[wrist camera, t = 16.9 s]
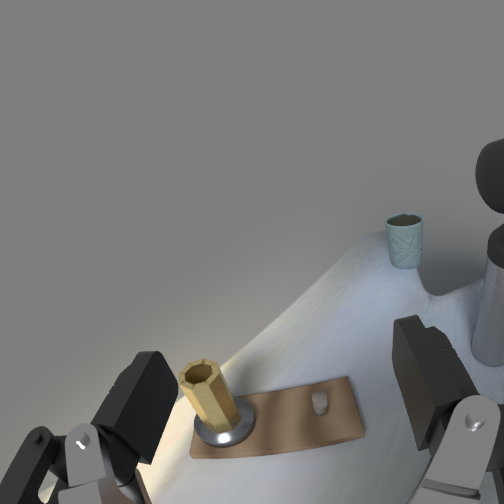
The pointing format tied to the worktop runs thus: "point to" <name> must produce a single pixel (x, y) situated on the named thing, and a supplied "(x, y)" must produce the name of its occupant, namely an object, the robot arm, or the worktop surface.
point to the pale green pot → (405, 239)
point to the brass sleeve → (210, 395)
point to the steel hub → (230, 437)
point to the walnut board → (294, 421)
